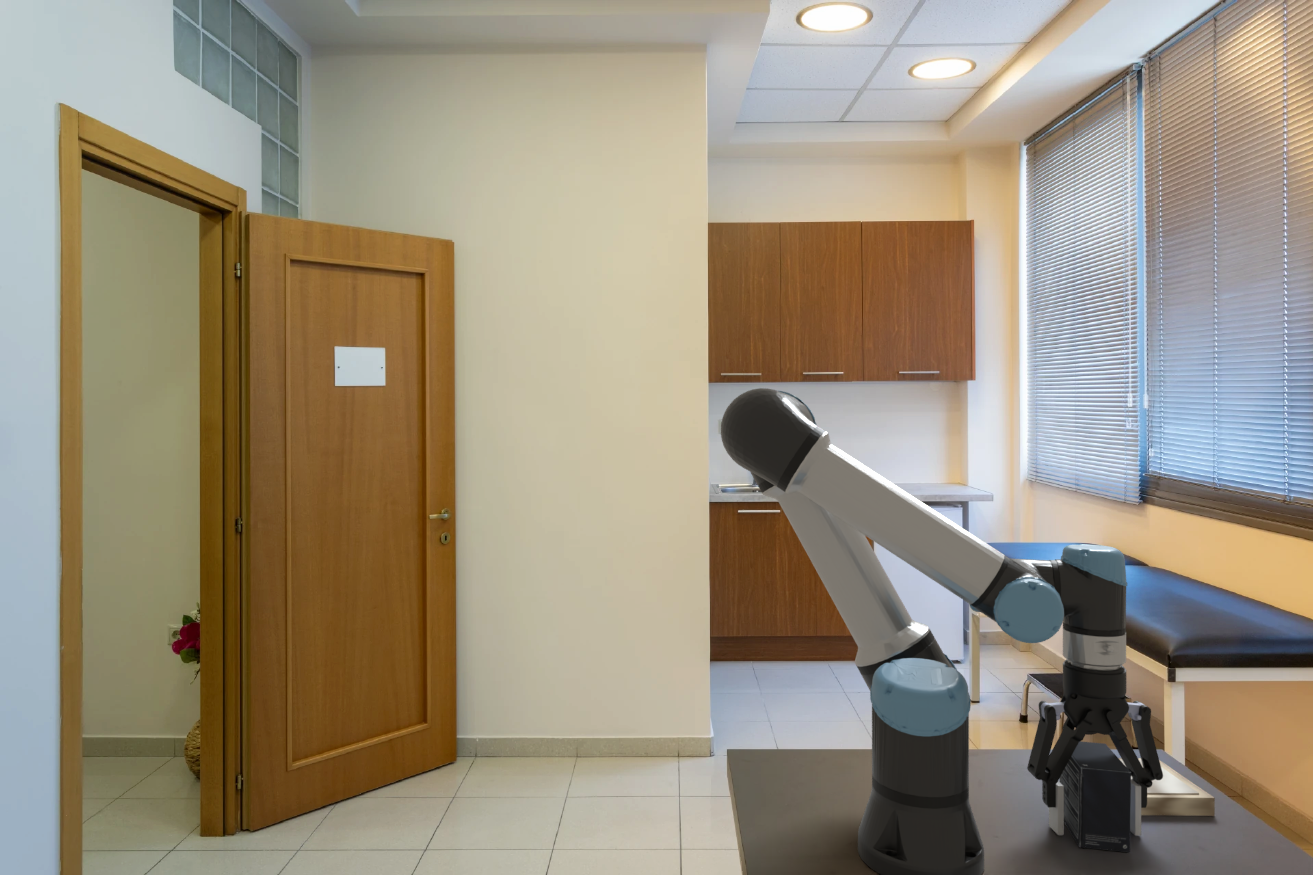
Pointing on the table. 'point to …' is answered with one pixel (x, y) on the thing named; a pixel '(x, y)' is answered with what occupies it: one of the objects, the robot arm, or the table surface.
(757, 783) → the table surface
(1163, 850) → the table surface
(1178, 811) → the beech picture frame
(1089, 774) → the small box
